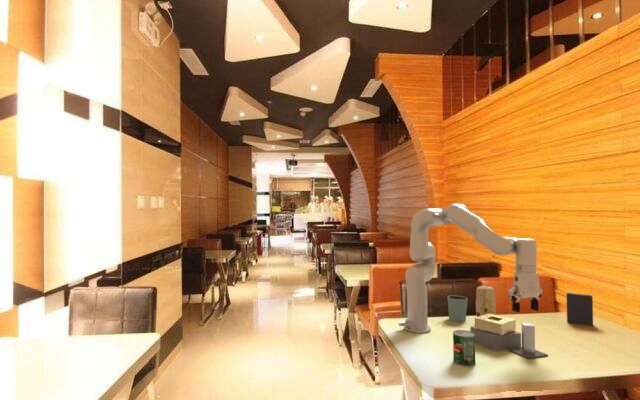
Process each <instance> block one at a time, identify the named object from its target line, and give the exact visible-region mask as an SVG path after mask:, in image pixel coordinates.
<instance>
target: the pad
mask: <svg viewBox="0 0 640 400" xmlns="http://www.w3.org/2000/svg"><path fill="white" fill-rule="evenodd" d="M507 350H508V351H509V352H511V353H514V354H516V355H518V356H520V357H522V358H524V359H527V360H532V359H539V358H545V357H548V356H549V355H548V354H547V353H544V352H542V351H540V350H537V349H535V354H529V353H524V352H523V350H522V346H521V347H518V348H510V349H507Z"/></svg>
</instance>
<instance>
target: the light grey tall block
mask: <svg viewBox="0 0 640 400" xmlns="http://www.w3.org/2000/svg"><path fill="white" fill-rule="evenodd" d="M535 327H536V326H535V325H534V324H533V322H532V323H530V322H529V323H528V322H521V347H522V350H523V352H524V353H529V354H535V350H536V336H535V335H536V330H535Z"/></svg>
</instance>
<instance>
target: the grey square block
mask: <svg viewBox="0 0 640 400" xmlns="http://www.w3.org/2000/svg"><path fill="white" fill-rule="evenodd" d="M470 332H473V333H474V334H475V344H479V346H482V347H485V348H487V349H489V350H491V351H493V352H497V351H498V352H499V351H503V350H504V351H505V350H508V349H510V348H518V347H522V332H519V331H517V330H514V331H512V332H509V333H507V334H504V335H499V334H495V333H491V332H488V331H484V330H480V329H476V328H475V325H471V326H470Z"/></svg>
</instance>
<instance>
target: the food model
mask: <svg viewBox="0 0 640 400" xmlns="http://www.w3.org/2000/svg"><path fill="white" fill-rule="evenodd" d="M495 294H496V293H495V288H494V287H492V286H487V285H480V286H479V285H478V287H476V291H475V313H476V315H475V316H476V317H479V316H482V315H486V314H493V315H497V314H496V313H497V311H496V295H495Z"/></svg>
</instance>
